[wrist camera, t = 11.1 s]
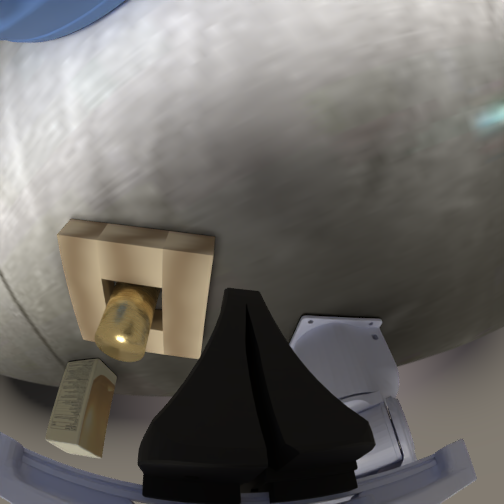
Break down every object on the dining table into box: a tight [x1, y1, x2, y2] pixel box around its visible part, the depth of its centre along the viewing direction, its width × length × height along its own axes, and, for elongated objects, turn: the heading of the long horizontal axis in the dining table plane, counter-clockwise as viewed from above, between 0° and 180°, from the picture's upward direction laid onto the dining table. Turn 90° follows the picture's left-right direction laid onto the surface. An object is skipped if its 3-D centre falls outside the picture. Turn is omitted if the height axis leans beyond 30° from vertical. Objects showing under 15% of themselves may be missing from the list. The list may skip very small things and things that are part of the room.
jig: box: [57, 219, 215, 359], centre depth 23 cm, size 12×12×2 cm
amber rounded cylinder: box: [94, 281, 161, 362], centre depth 21 cm, size 4×4×7 cm
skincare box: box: [45, 359, 117, 458], centre depth 26 cm, size 6×4×12 cm
